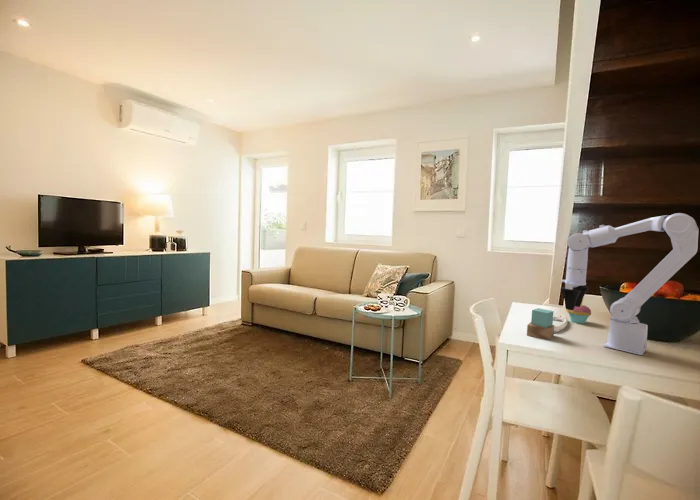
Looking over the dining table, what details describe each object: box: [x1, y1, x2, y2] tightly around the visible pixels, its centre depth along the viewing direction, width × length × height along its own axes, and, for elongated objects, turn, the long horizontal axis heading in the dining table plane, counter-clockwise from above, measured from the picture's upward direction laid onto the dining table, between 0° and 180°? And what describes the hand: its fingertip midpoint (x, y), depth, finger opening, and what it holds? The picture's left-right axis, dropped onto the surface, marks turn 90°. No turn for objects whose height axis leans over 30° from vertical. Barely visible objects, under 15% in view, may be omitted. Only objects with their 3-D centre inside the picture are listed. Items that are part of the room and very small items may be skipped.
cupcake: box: [565, 299, 592, 325], centre depth 139 cm, size 9×8×12 cm
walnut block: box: [526, 321, 555, 341], centre depth 120 cm, size 7×7×4 cm
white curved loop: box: [553, 314, 568, 334], centre depth 134 cm, size 3×10×25 cm
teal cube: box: [530, 307, 555, 328], centre depth 120 cm, size 5×5×5 cm
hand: (573, 307), depth 120 cm, fingers open, 7 cm apart
